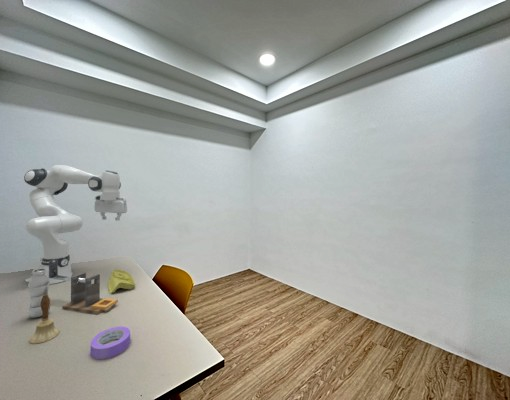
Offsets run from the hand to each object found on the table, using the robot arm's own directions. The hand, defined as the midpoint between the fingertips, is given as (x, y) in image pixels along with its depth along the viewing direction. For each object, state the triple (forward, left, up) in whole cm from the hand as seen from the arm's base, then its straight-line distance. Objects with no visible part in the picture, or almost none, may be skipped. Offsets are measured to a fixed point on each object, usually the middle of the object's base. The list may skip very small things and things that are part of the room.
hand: (110, 220), depth 131 cm
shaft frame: (+17, -28, -37) cm, 49 cm away
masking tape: (+48, -48, -38) cm, 78 cm away
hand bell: (+20, -49, -37) cm, 65 cm away
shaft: (+5, -28, -26) cm, 38 cm away
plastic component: (+13, -5, -38) cm, 40 cm away
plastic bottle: (+3, -39, -37) cm, 54 cm away
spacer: (+25, -28, -35) cm, 51 cm away
